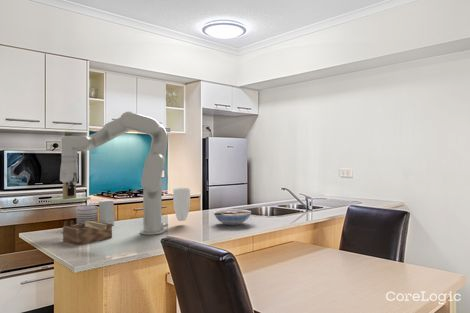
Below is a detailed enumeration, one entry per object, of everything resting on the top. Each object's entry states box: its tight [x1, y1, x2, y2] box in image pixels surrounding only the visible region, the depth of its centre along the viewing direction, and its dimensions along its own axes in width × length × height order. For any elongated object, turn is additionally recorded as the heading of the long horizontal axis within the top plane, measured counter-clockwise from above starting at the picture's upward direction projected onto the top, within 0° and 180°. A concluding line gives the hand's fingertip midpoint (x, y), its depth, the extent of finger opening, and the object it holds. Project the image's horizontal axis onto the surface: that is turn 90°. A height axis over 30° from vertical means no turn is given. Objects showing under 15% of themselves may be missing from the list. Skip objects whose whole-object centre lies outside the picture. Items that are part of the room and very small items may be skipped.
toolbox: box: [62, 220, 113, 246], centre depth 175 cm, size 18×14×9 cm
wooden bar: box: [85, 221, 106, 230], centre depth 161 cm, size 2×14×2 cm, turn 54°
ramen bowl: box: [212, 208, 253, 226], centre depth 213 cm, size 25×23×8 cm
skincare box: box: [98, 199, 115, 226], centre depth 211 cm, size 8×6×15 cm
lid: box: [47, 184, 92, 204], centre depth 185 cm, size 17×12×8 cm
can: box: [75, 204, 99, 224], centre depth 206 cm, size 11×11×12 cm
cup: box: [172, 187, 191, 222], centre depth 211 cm, size 10×10×22 cm
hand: (69, 195), depth 185 cm, fingers closed on lid
